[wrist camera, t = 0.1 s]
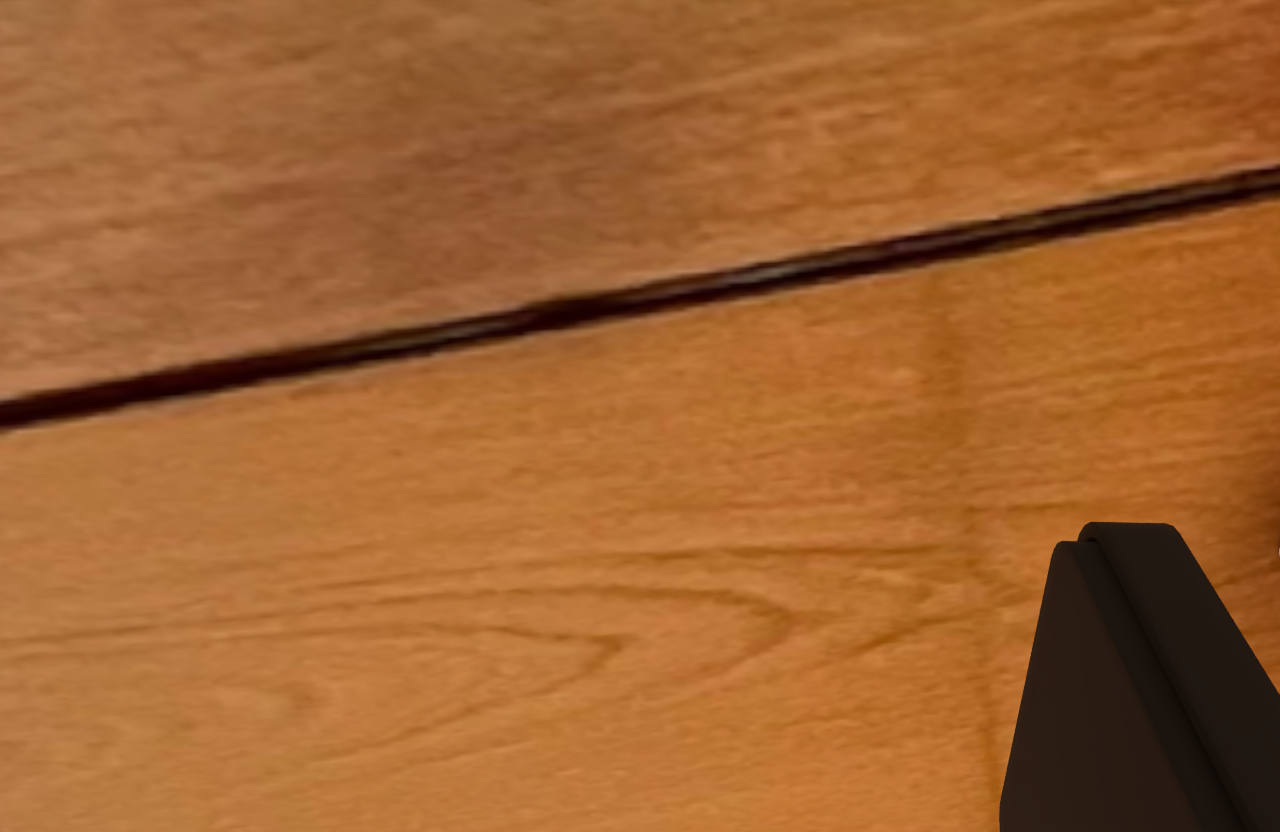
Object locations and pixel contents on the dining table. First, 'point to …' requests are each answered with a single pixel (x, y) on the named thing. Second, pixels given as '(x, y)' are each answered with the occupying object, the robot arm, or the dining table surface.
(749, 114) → the dining table surface
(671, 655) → the dining table surface
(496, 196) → the dining table surface
